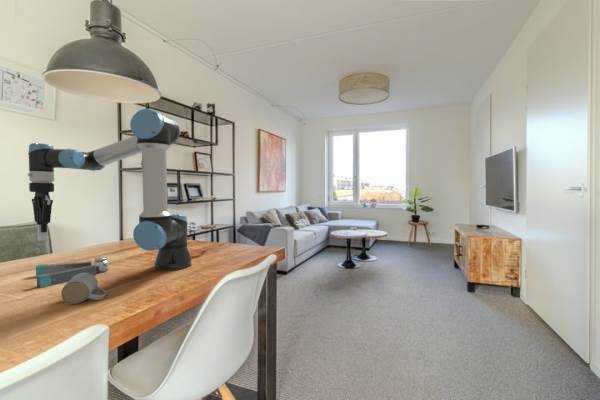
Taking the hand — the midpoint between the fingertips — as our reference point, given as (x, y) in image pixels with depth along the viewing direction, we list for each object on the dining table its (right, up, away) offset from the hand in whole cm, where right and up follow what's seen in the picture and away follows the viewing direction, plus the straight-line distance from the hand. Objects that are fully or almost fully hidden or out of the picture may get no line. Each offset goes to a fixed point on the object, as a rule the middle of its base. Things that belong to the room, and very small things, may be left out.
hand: (42, 240), depth 119 cm
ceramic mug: (+38, -15, -28) cm, 50 cm away
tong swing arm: (+14, -13, -2) cm, 19 cm away
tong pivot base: (+19, -14, -7) cm, 24 cm away
